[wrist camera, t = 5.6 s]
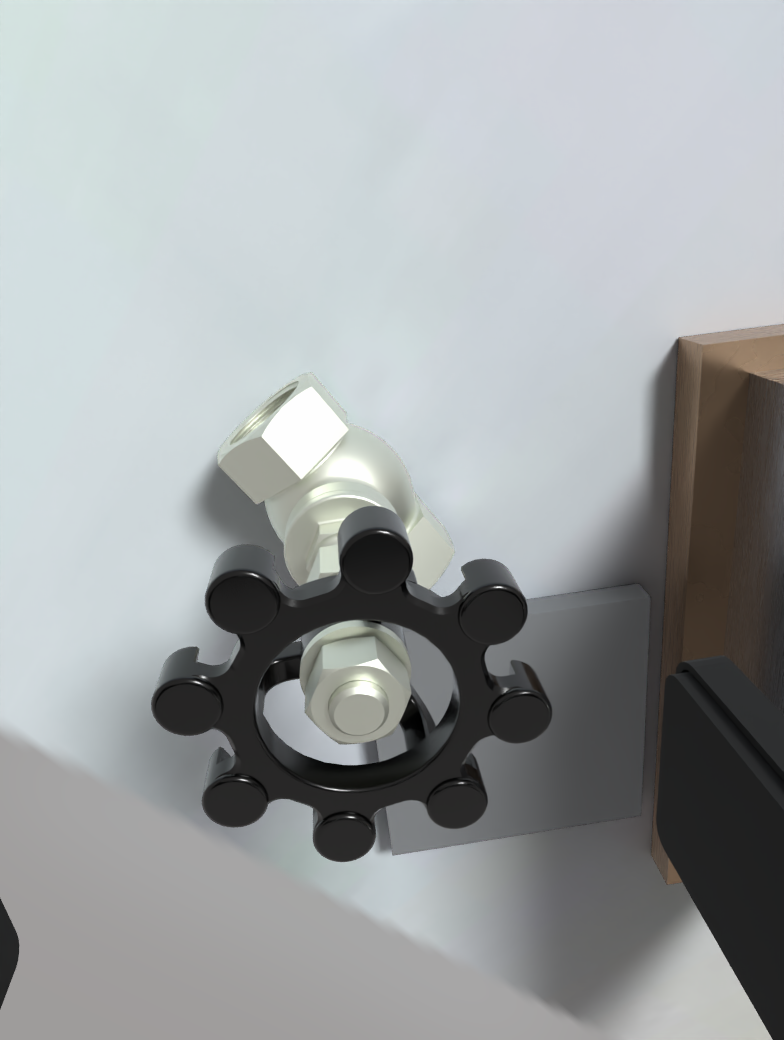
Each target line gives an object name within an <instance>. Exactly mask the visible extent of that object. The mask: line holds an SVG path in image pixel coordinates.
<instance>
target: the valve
mask: <svg viewBox="0 0 784 1040" xmlns="http://www.w3.org/2000/svg"><path fill="white" fill-rule="evenodd" d="M217 462H218V466H219V467H220V468H221V469H222V470H223V471H224V472H225V473H226V474H227V475H228V476H229V477H230V478H231V479H232V480H233V481H234V482H235V483H236V484H237V485H238V486H239V487H240V488H241V489H242V490H243V491H244V493H245V494H246V495H247V496H248V497H249V498H250V499H251V500H252V501H253V502H254V503H255V504H256V505H257V504H259V503H261V502H263V501H264V502H265V507H266V511H267V515H268V518H269V520H270V523H271V525H272V527H273V529H274V531H275V532H276V534H277V535H278V537H279V538H280V540H281V541H282V542H283V544H284V558H285V562H286V566H287V569H288V571H289V573H290V575H291V576H292V578H293V579H294V580H295V582H296V583H297V584H298V585H299V586H298V587H296V588H294V589H291V588H289V587H287V586H286V585H284V583H283V582H282V581H281V579H280V578H279V576H278V574H277V572H276V571H275V570H274V568H273V566H274V558H275V556H274V555H273V554H272V553H271V552H269V551H268V550H266V549H264V548H262V547H260V546H256V545H249V544H244V545H237V546H234V547H232V548H230V549H228V550H226V551H225V552H223V553H222V554H221V555H220V556H219V558H218V559H217V560H216V562H215V564H214V567H213V570H212V574H211V577H210V580H209V584H208V587H207V590H206V594H205V606H206V610H207V613H208V615H209V616H210V618H211V619H212V621H213V622H214V623H215V624H216V625H217V626H219V627H220V628H221V629H223V630H225V631H227V632H231V633H234V634H237V635H238V637H239V639H238V641H237V643H236V645H235V647H234V649H233V652H232V655H231V657H230V659H229V660H228V661H227V662H225V663H223V664H221V665H215V666H212V665H207V664H203V663H199V662H197V660H198V653H199V648H198V647H187V648H183V649H180V650H178V651H176V652H174V653H173V654H172V655H170V656H169V657H168V659H167V660H166V661H165V663H164V665H163V668H162V671H161V674H160V677H159V680H158V683H157V686H156V688H155V691H154V694H153V697H152V701H151V709H152V713H153V716H154V718H155V719H156V721H157V722H158V723H159V724H160V725H161V726H162V727H163V728H164V729H166V730H168V731H169V732H172V733H174V734H178V735H184V736H192V735H198V734H202V733H204V732H206V731H208V730H210V729H216V730H218V731H220V732H222V733H223V734H225V736H226V737H227V739H228V740H229V742H230V745H231V747H232V749H233V751H234V753H235V754H234V755H233V756H232V757H231V756H230V755H229V754H228V753H227V752H226V751H225V750H224V749H223V748H221V747H219V748H218V749H217V750H216V751H215V752H214V753H213V755H212V756H211V758H210V761H209V766H208V770H207V775H206V780H205V785H204V791H203V796H202V806H203V809H204V811H205V813H206V815H207V816H208V817H209V818H210V819H211V820H212V821H214V822H216V823H217V824H220V825H222V826H226V827H243V826H247V825H250V824H252V823H254V822H256V821H257V820H258V819H259V818H261V817H262V816H263V814H264V813H265V811H266V809H267V807H268V804H269V803H271V802H272V801H274V800H277V799H290V800H293V801H296V802H299V803H302V804H305V805H307V806H310V807H312V808H313V842H314V846H315V848H316V850H317V851H318V852H319V853H320V854H321V855H322V856H323V857H325V858H327V859H329V860H332V861H336V862H348V861H353V860H356V859H358V858H361V857H362V856H364V855H365V854H366V853H368V852H369V850H370V849H371V848H372V847H373V844H374V842H375V838H376V830H375V819H374V817H375V815H376V813H377V812H378V811H379V810H381V809H382V808H384V807H387V806H390V805H394V804H397V803H400V802H404V801H418V802H420V803H421V804H423V805H424V806H425V808H426V811H427V814H428V816H429V818H430V819H431V820H432V821H433V822H434V823H435V824H437V825H438V826H441V827H443V828H447V829H460V828H465V827H468V826H470V825H472V824H474V823H475V822H477V821H478V820H479V819H480V818H481V817H482V816H483V815H484V813H485V811H486V809H487V805H488V796H487V792H486V789H485V786H484V782H483V779H482V776H481V772H480V769H479V766H478V762H477V760H476V758H475V756H474V755H473V754H472V753H471V751H472V750H473V749H474V747H475V746H476V744H477V743H478V742H479V741H480V740H482V739H484V738H486V737H489V736H496V737H497V738H498V739H500V740H502V741H504V742H507V743H512V744H521V743H526V742H529V741H532V740H534V739H536V738H537V737H539V736H540V735H541V734H543V733H544V732H545V730H546V729H547V728H548V726H549V724H550V722H551V719H552V706H551V703H550V701H549V699H548V697H547V695H546V692H545V690H544V688H543V686H542V684H541V682H540V680H539V678H538V676H537V674H536V672H535V671H534V669H533V668H532V667H531V666H529V665H528V664H526V663H525V662H522V661H519V660H511V661H510V668H509V675H508V676H495V675H493V674H491V673H490V672H489V671H488V670H487V667H486V663H485V653H486V651H487V649H488V647H489V646H490V645H498V644H501V643H504V642H506V641H509V640H510V639H512V638H513V637H515V636H516V635H517V634H518V633H519V632H520V630H521V629H522V628H523V626H524V624H525V622H526V619H527V615H528V606H527V602H526V599H525V597H524V595H523V594H522V592H521V590H520V588H519V587H518V585H517V583H516V581H515V579H514V578H513V576H512V574H511V572H510V571H509V569H508V568H507V567H506V566H505V565H503V564H502V563H500V562H498V561H495V560H492V559H478V560H474V561H471V562H468V563H466V564H465V565H463V566H462V567H461V571H462V573H463V575H464V578H465V581H464V582H462V583H461V585H460V586H459V587H458V589H457V590H456V591H455V592H454V593H452V594H451V595H449V596H446V597H440V596H439V595H437V594H435V593H434V592H432V591H431V590H429V589H430V588H431V587H432V586H433V585H434V584H435V583H436V582H437V581H438V580H439V578H440V577H441V576H442V574H443V573H444V571H445V570H446V568H447V567H448V565H449V563H450V561H451V559H452V557H453V555H454V553H455V550H454V546H453V543H452V541H451V539H450V537H449V535H448V533H447V531H446V529H445V527H444V526H443V525H442V524H441V523H440V521H439V520H438V519H437V518H436V517H435V516H434V514H433V513H432V512H431V511H430V510H429V509H428V507H427V506H426V505H425V504H424V503H423V501H422V500H421V499H420V498H419V497H418V496H417V494H416V493H414V489H413V486H412V482H411V478H410V476H409V474H408V471H407V469H406V467H405V465H404V463H403V462H402V460H401V459H400V457H399V456H398V455H397V453H396V452H395V451H394V450H393V449H392V448H391V447H390V446H389V445H388V444H387V443H386V442H385V441H384V440H382V439H381V438H380V437H378V436H377V435H375V434H374V433H372V432H370V431H368V430H366V429H364V428H362V427H359V426H356V425H353V424H349V423H348V421H347V414H346V411H345V410H344V409H343V408H342V407H341V406H340V404H339V403H338V402H337V401H336V400H335V399H334V397H333V396H332V395H331V394H330V393H329V392H328V390H327V389H326V388H325V387H324V386H323V385H322V383H321V382H320V381H319V380H318V379H317V378H316V376H315V375H314V374H313V373H312V372H310V373H305V374H302V375H300V376H298V377H296V378H295V379H293V380H292V381H290V382H289V383H287V384H286V385H285V386H283V387H282V388H281V389H279V390H278V391H277V392H275V393H274V394H273V395H272V396H270V397H269V398H268V399H267V400H266V401H265V402H263V403H262V404H261V405H260V406H259V407H258V408H257V409H255V410H254V411H253V412H252V413H251V414H250V415H249V416H248V417H247V418H246V419H245V420H244V421H243V422H242V423H241V424H240V425H239V426H238V427H237V428H236V429H235V430H234V431H233V432H232V433H231V434H230V436H229V437H228V438H227V439H226V440H225V442H224V443H223V444H222V446H221V447H220V449H219V451H218V455H217ZM403 627H404V628H407V629H410V630H412V631H414V632H416V633H417V634H419V635H421V636H423V637H425V638H426V639H427V640H428V641H429V642H431V643H432V644H433V645H434V646H435V647H437V648H438V649H439V650H440V651H441V653H442V654H443V655H444V657H445V658H446V659H447V661H448V662H449V663H450V665H451V668H452V670H453V691H452V696H451V700H450V703H449V706H448V708H447V710H446V712H445V714H444V716H443V718H442V719H441V721H440V722H439V724H438V725H437V726H436V725H435V722H434V720H433V718H432V716H431V714H430V712H429V711H428V709H427V707H426V705H425V704H424V702H423V701H422V699H421V698H420V696H419V695H418V693H417V692H416V690H415V689H414V688H413V687H412V685H411V684H410V679H411V664H410V659H409V655H408V650H407V645H406V640H405V636H404V631H403ZM300 637H301V641H299V642H294V641H295V640H297V639H298V638H300ZM292 642H293V643H292ZM295 679H300V684H301V688H302V690H303V693H304V695H305V713H306V715H307V716H308V717H309V718H310V719H311V720H312V721H313V722H314V724H315V725H316V726H317V727H318V728H319V729H321V730H322V731H323V732H324V733H325V734H326V735H327V736H329V737H330V738H331V739H333V740H334V741H335V742H337V743H339V744H358V743H365V742H370V741H374V740H378V739H381V738H384V737H387V736H390V735H392V734H393V732H394V731H395V729H396V727H397V726H398V724H399V725H400V727H401V729H402V732H403V735H404V741H405V747H406V752H404V753H401V754H399V755H397V756H395V757H393V758H390V759H388V760H384V761H381V762H377V763H372V764H366V765H339V764H332V763H325V762H322V761H319V760H316V759H313V758H310V757H307V756H304V755H303V754H301V753H299V752H297V751H295V750H294V749H292V748H291V747H289V746H288V745H287V744H285V743H284V742H283V741H282V740H281V739H280V738H279V737H278V736H277V735H276V734H275V733H274V732H273V730H272V728H271V727H270V725H269V723H268V722H267V720H266V718H265V717H264V715H263V709H264V699H265V696H266V694H267V692H268V691H269V690H270V689H271V688H273V687H274V686H276V685H278V684H280V683H282V682H285V681H289V680H295Z"/></svg>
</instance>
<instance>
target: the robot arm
mask: <svg viewBox="0 0 784 1040" xmlns="http://www.w3.org/2000/svg"><path fill="white" fill-rule="evenodd" d="M656 825H657V831H658V835H659V839H660V841H661V844H662V846H663V848H664V850H665V852H666V854H667V856H668V858H669V859H670V861H671V863H672V865H673V866H674V868H675V870H676V872H677V873H678V875H679V877H680V878H681V880H682V882H683V884H684V885H685V887H686V889H687V891H688V892H689V894H690V896H691V898H692V899H693V901H694V903H695V905H696V906H697V908H698V910H699V912H700V913H701V915H702V917H703V919H704V920H705V922H706V924H707V926H708V927H709V929H710V931H711V933H712V934H713V936H714V938H715V940H716V941H717V943H718V945H719V947H720V948H721V950H722V952H723V954H724V955H725V957H726V959H727V961H728V962H729V964H730V966H731V967H732V969H733V971H734V973H735V974H736V976H737V978H738V980H739V981H740V983H741V985H742V987H743V988H744V990H745V992H746V994H747V995H748V997H749V999H750V1001H751V1002H752V1004H753V1006H754V1008H755V1009H756V1011H757V1013H758V1015H759V1016H760V1018H761V1020H762V1022H763V1023H764V1025H765V1027H766V1029H767V1030H768V1032H769V1034H770V1036H771V1037H772V1039H773V1040H784V715H783V714H782V712H781V711H780V710H779V709H778V708H777V707H776V706H775V705H774V704H773V703H772V702H771V701H770V700H769V699H768V698H767V697H766V696H765V695H764V694H763V693H762V692H761V691H760V690H759V689H758V688H757V687H756V686H755V685H754V684H753V682H752V681H751V680H750V679H749V678H748V677H747V676H746V675H745V674H744V673H743V672H742V671H741V670H740V669H739V668H738V667H737V666H736V665H735V664H734V663H733V662H732V661H731V660H730V659H729V658H727V657H726V656H722V655H720V656H713V657H707V658H701V659H695V660H689V661H683V662H681V663H679V664H678V666H677V668H676V673H675V674H672V675H669V676H667V678H666V681H665V690H664V706H663V721H662V737H661V752H660V768H659V783H658V799H657V814H656ZM18 955H19V940H18V936H17V933H16V931H15V929H14V927H13V924H12V922H11V920H10V918H9V916H8V914H7V912H6V909H5V907H4V905H3V903H2V901H1V899H0V1008H1V1006H2V1003H3V1001H4V998H5V995H6V993H7V990H8V987H9V984H10V982H11V979H12V977H13V974H14V971H15V969H16V965H17V962H18Z"/></svg>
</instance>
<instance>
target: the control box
mask: <svg viewBox="0 0 784 1040" xmlns="http://www.w3.org/2000/svg"><path fill="white" fill-rule="evenodd" d="M720 655H722V656H726V657H727V658H729V659H730V660H731V661H732V662H733V663H734V664H735V665H736V666H737V667H738V668H739V669H740V670H741V671H742V672H743V673H744V674H745V675H746V676H747V677H748V678H749V679H750V680H751V681H752V682H753V684H754V685H755V686H756V687H757V688H758V689H759V690H760V691H761V692H762V693H763V694H764V695H765V696H766V697H767V698H768V699H769V700H770V701H771V702H772V703H773V704H774V705H775V706H776V707H777V708H778V709H779V710H780V711H781V712H782V714H783V715H784V324H781V325H773V326H765V327H757V328H749V329H741V330H733V331H725V332H718V333H710V334H702V335H694V336H686V337H679V341H678V360H677V378H676V397H675V416H674V435H673V454H672V473H671V491H670V510H669V529H668V548H667V567H666V585H665V604H664V623H663V642H662V661H661V680H660V698H659V717H658V736H657V755H656V774H655V793H654V811H653V830H652V849H651V856H652V857H653V859H654V861H655V863H656V865H657V867H658V869H659V871H660V873H661V874H662V876H663V878H664V880H665V882H666V884H667V885H669V884H675V883H681V882H682V880H681V878H680V877H679V875H678V873H677V872H676V870H675V868H674V866H673V865H672V863H671V861H670V859H669V858H668V856H667V854H666V852H665V850H664V848H663V846H662V844H661V841H660V839H659V835H658V831H657V825H656V814H657V799H658V783H659V768H660V752H661V737H662V721H663V706H664V690H665V681H666V678H667V676H669V675H672V674H675V673H676V668H677V666H678V664H679V663H681V662H683V661H689V660H695V659H701V658H707V657H713V656H720Z"/></svg>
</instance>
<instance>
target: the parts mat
mask: <svg viewBox="0 0 784 1040" xmlns="http://www.w3.org/2000/svg"><path fill="white" fill-rule="evenodd" d="M526 602H527V606H528V615H527V619H526V622H525V624H524V626H523V628H522V629H521V630H520V632H519V633H518V634H517V635H516V636H515V637H513V638H512V639H510V640H509V641H506V642H504V643H501V644H498V645H490V646H489V647H488V649H487V651H486V653H485V663H486V667H487V670H488V671H489V672H490V673H491V674H493V675H495V676H508V675H509V668H510V661H511V660H519V661H522V662H525V663H526V664H528V665H529V666H531V667H532V668H533V669H534V671H535V672H536V674H537V676H538V678H539V680H540V682H541V684H542V686H543V688H544V690H545V692H546V695H547V697H548V699H549V701H550V703H551V706H552V719H551V722H550V724H549V726H548V728H547V729H546V730H545V732H544V733H543V734H541V735H540V736H539V737H537V738H536V739H534V740H532V741H529V742H526V743H521V744H512V743H507V742H504V741H502V740H500V739H498V738H497V737H496V736H489V737H486V738H484V739H482V740H480V741H479V742H478V743H477V744H476V746H475V747H474V749H473V750H472V751H471V753H472V754H473V755H474V756H475V758H476V760H477V762H478V766H479V769H480V772H481V776H482V779H483V782H484V786H485V789H486V792H487V796H488V805H487V809H486V811H485V813H484V815H483V816H482V817H481V818H480V819H479V820H478V821H477V822H475V823H474V824H472V825H470V826H468V827H465V828H460V829H447V828H443V827H441V826H438V825H437V824H435V823H434V822H433V821H432V820H431V819H430V818H429V816H428V814H427V811H426V808H425V806H424V805H423V804H421V803H420V802H418V801H404V802H400V803H397V804H394V805H390V806H387V807H386V813H387V820H388V827H389V834H390V841H391V848H392V855H400V854H406V853H412V852H418V851H424V850H431V849H437V848H443V847H449V846H455V845H462V844H468V843H474V842H480V841H487V840H493V839H499V838H505V837H511V836H518V835H524V834H530V833H536V832H542V831H549V830H555V829H561V828H567V827H573V826H580V825H586V824H592V823H598V822H605V821H611V820H617V819H623V818H629V817H636V816H641V807H642V784H643V762H644V739H645V716H646V694H647V671H648V648H649V626H650V603H651V597H650V596H649V594H648V593H647V592H646V591H645V590H644V589H643V588H642V587H641V586H640V584H639V583H638V584H631V585H624V586H617V587H610V588H603V589H596V590H589V591H582V592H575V593H568V594H561V595H554V596H548V597H541V598H534V599H527V600H526ZM403 631H404V636H405V640H406V645H407V650H408V655H409V659H410V664H411V679H410V684H411V685H412V687H413V688H414V689H415V690H416V692H417V693H418V695H419V696H420V698H421V699H422V701H423V702H424V704H425V705H426V707H427V709H428V711H429V712H430V714H431V716H432V718H433V720H434V722H435V725H436V726H437V725H438V724H439V722H440V721H441V719H442V718H443V716H444V714H445V712H446V710H447V708H448V706H449V703H450V700H451V696H452V691H453V670H452V668H451V665H450V663H449V662H448V661H447V659H446V658H445V657H444V655H443V654H442V653H441V651H440V650H439V649H438V648H437V647H435V646H434V645H433V644H432V643H431V642H429V641H428V640H427V639H426V638H425V637H423V636H421V635H419V634H417V633H416V632H414V631H412V630H410V629H407V628H404V627H403ZM376 744H377V751H378V757H379V762H381V761H384V760H388V759H390V758H393V757H395V756H397V755H399V754H401V753H404V752H406V747H405V741H404V735H403V732H402V729H401V727H400V725H399V724H398V726H397V727H396V729H395V731H394V732H393V734H392V735H390V736H387V737H384V738H381V739H378V740H376Z"/></svg>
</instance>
